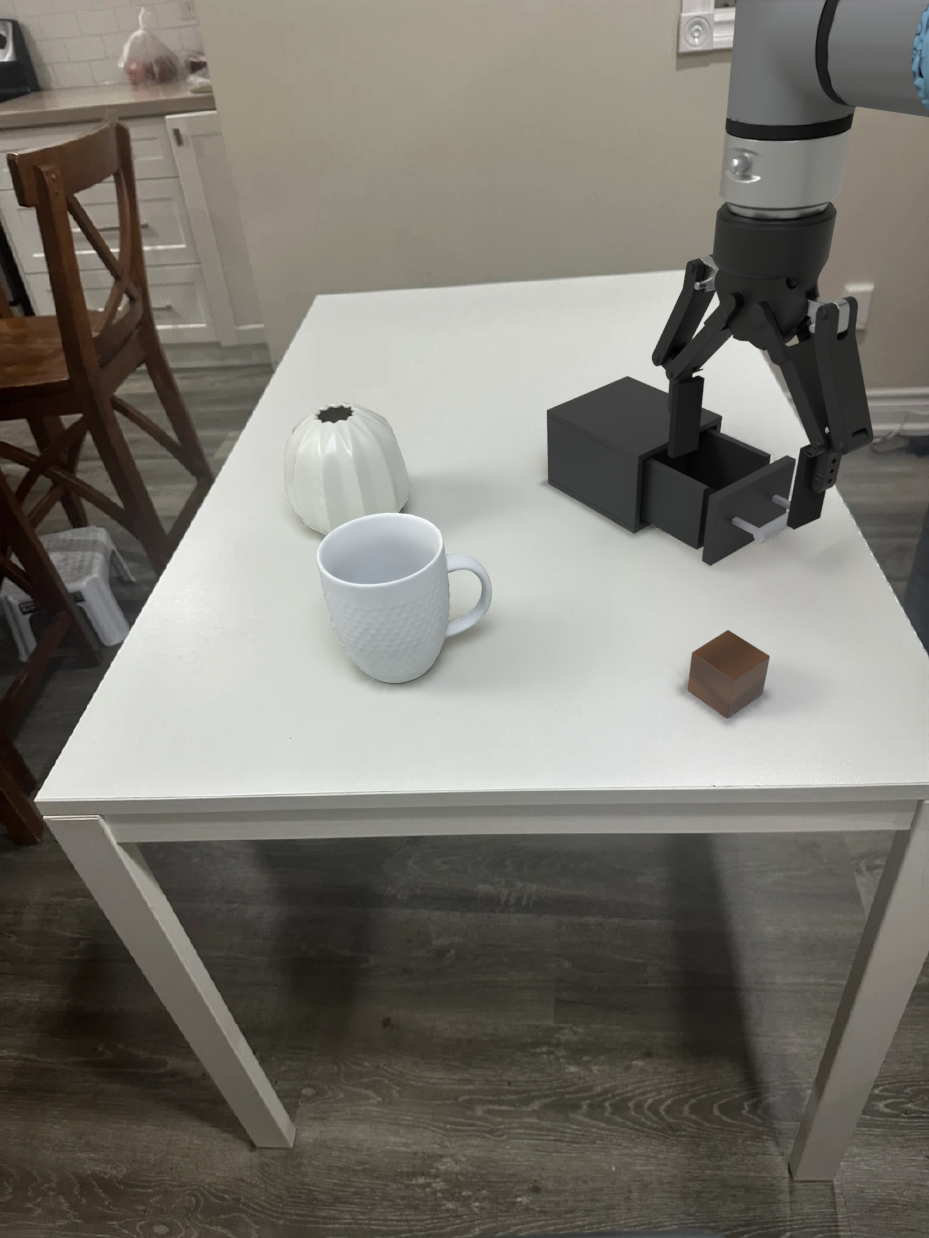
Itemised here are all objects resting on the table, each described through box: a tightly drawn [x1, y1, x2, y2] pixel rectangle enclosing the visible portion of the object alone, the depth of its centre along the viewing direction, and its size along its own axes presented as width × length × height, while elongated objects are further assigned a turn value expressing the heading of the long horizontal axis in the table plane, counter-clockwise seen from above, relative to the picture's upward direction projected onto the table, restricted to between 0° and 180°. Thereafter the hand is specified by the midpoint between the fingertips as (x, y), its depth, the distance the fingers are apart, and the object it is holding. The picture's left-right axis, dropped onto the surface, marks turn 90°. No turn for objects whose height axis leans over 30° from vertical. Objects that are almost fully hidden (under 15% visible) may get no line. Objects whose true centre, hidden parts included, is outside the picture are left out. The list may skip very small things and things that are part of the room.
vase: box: [283, 401, 411, 537], centre depth 97 cm, size 14×14×13 cm
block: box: [687, 629, 771, 719], centre depth 74 cm, size 4×4×4 cm
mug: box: [316, 512, 493, 684], centre depth 78 cm, size 15×11×13 cm
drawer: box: [640, 428, 797, 567], centre depth 90 cm, size 18×11×8 cm, turn 36°
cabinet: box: [546, 375, 723, 534], centre depth 99 cm, size 15×13×10 cm
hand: (738, 485), depth 70 cm, fingers open, 13 cm apart
